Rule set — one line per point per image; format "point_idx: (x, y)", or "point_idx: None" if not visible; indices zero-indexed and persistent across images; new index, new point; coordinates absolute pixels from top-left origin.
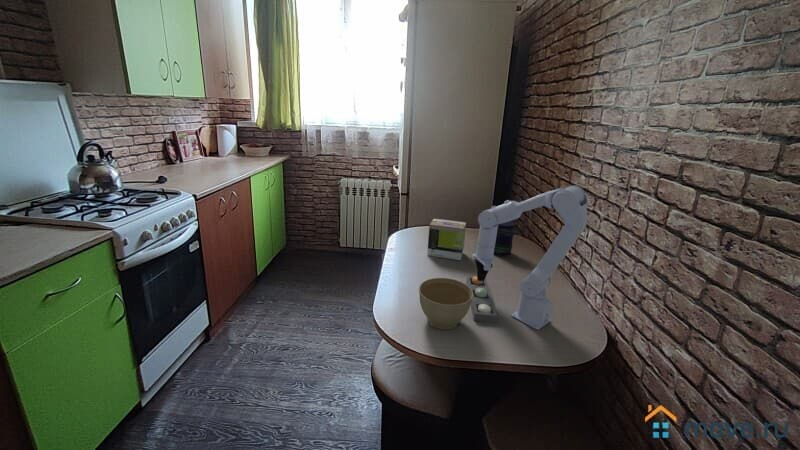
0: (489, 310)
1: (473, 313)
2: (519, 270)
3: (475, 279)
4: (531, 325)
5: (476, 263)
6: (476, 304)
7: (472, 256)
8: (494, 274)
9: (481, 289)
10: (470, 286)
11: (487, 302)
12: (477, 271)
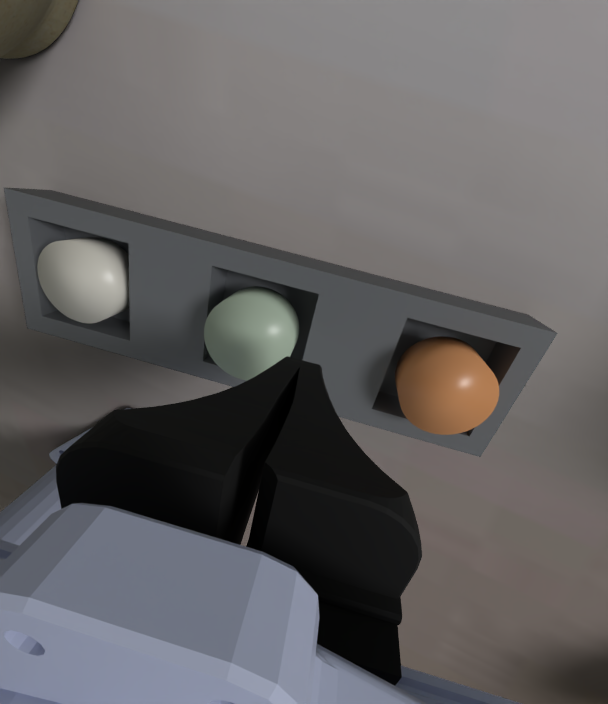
0: (51, 300)
1: (78, 201)
2: (558, 641)
3: (432, 370)
4: (63, 445)
5: (88, 444)
6: (131, 248)
7: (120, 539)
8: (567, 528)
9: (265, 350)
10: (374, 298)
11: (156, 331)
12: (259, 392)
